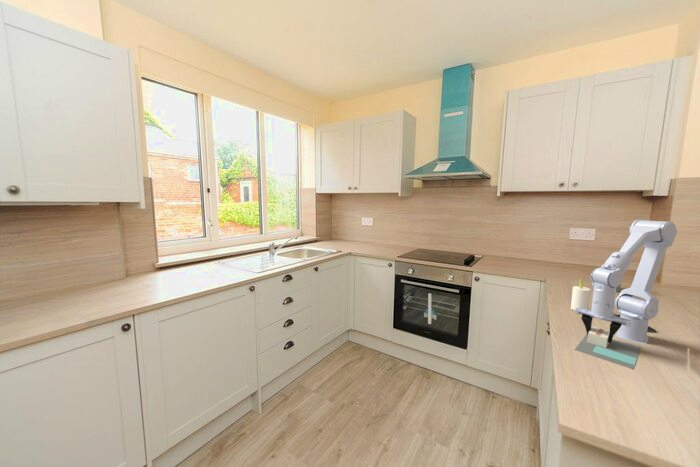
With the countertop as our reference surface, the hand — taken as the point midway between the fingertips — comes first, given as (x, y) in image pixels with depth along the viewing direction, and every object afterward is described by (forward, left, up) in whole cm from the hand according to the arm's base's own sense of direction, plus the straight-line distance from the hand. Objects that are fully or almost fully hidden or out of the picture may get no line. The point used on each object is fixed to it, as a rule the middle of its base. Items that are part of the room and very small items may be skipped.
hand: (599, 338), depth 97 cm
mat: (+4, +3, -2) cm, 5 cm away
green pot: (-87, -9, -2) cm, 87 cm away
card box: (0, 0, -1) cm, 1 cm away
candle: (-34, -12, -2) cm, 36 cm away
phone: (-32, +5, -2) cm, 32 cm away
